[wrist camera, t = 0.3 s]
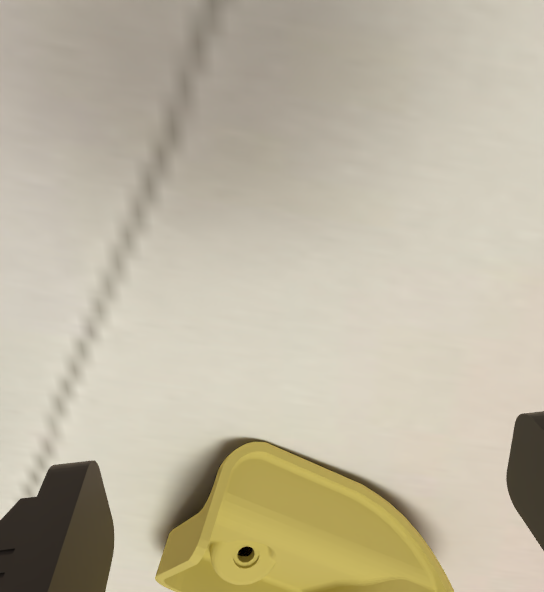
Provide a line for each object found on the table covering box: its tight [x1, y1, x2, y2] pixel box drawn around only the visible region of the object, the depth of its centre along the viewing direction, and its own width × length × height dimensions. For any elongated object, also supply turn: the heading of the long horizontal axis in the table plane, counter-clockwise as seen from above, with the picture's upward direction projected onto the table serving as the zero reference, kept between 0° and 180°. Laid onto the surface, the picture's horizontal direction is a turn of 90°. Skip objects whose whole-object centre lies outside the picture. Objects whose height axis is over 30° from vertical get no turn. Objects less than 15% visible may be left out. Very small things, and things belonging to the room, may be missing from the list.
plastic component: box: [155, 442, 454, 592], centre depth 35 cm, size 20×7×10 cm
